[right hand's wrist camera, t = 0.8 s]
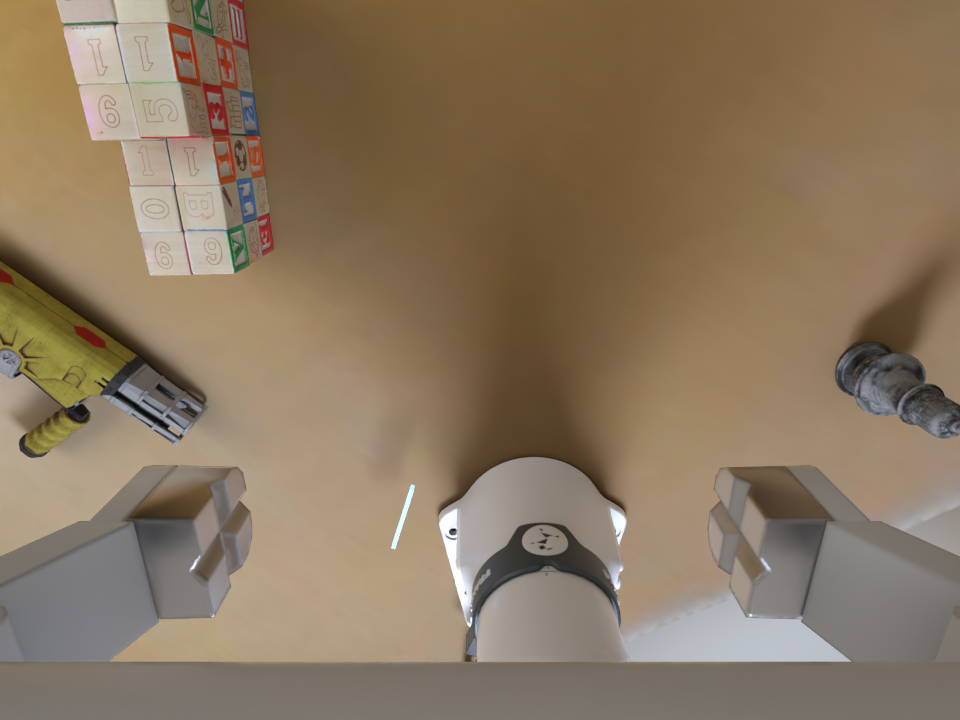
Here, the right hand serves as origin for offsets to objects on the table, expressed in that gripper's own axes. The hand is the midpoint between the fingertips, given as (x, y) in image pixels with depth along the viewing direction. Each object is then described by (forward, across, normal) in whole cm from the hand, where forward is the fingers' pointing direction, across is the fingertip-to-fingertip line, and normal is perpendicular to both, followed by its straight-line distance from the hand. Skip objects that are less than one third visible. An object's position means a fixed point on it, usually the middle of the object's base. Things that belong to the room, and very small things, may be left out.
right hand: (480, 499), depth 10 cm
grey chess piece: (+41, +35, -14) cm, 56 cm away
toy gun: (+41, -39, -15) cm, 59 cm away
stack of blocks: (+41, -20, +7) cm, 47 cm away
